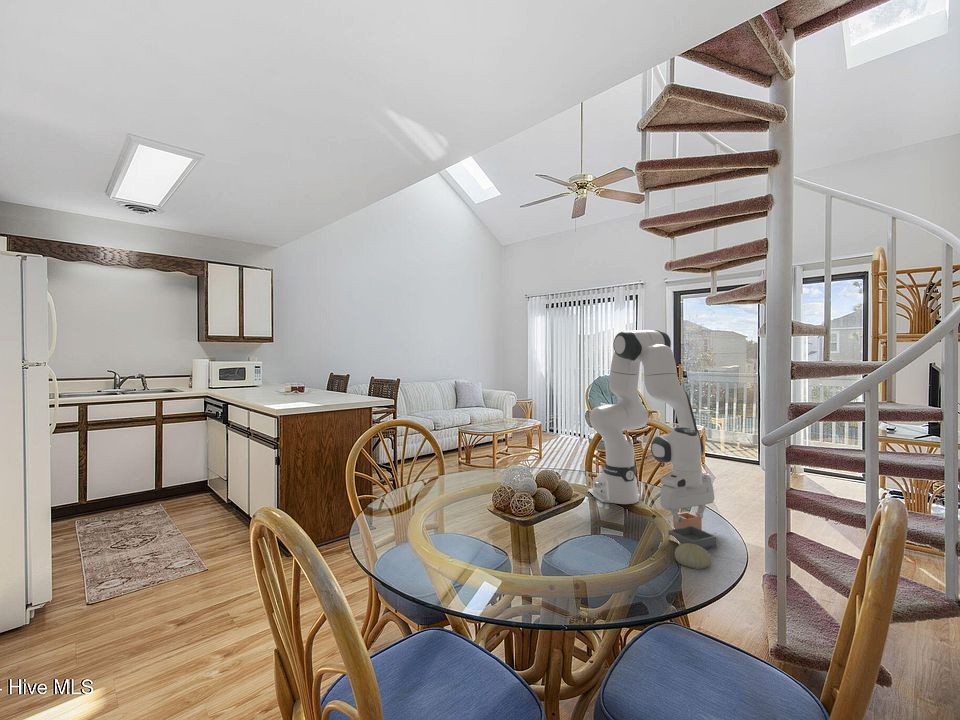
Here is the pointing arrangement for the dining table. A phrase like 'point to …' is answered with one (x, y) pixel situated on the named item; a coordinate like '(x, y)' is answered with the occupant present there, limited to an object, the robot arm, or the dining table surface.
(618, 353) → the robot arm
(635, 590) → the dining table surface
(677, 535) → the charcoal crate
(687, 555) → the sea urchin shell
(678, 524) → the terracotta crate
